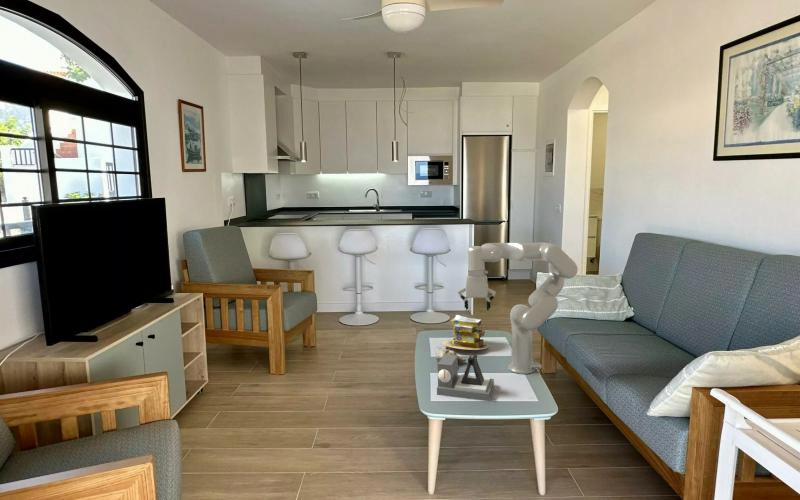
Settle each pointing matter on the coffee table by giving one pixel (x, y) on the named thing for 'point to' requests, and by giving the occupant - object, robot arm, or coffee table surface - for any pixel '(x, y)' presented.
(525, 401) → the coffee table surface
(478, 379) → the phone stand
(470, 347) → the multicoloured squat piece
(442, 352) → the ceramic sculpture
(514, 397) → the coffee table surface
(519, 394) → the coffee table surface
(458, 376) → the grey bracket with tile
